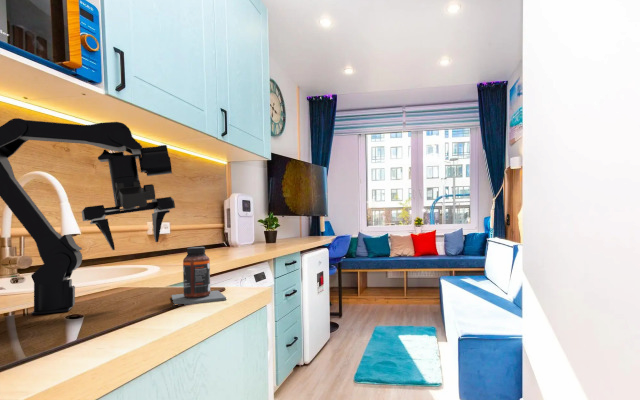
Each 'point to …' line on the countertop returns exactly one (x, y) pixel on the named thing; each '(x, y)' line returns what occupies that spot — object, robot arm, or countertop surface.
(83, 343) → the countertop surface
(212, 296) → the charcoal mat
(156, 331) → the countertop surface
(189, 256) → the supplement bottle
